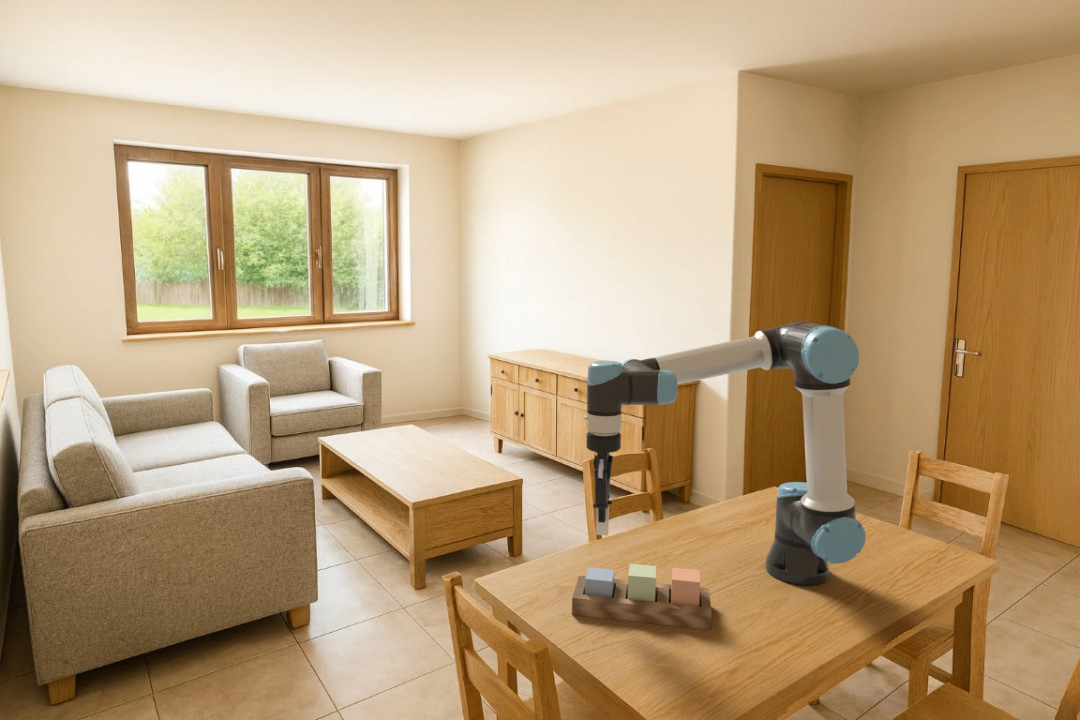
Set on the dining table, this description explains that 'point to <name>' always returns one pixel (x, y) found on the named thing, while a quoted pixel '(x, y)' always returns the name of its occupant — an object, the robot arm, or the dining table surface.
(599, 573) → the pale blue-grey cube
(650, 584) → the pastel lime cube
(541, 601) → the dining table surface
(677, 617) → the wooden cube holder tray
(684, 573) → the salmon pink cube
